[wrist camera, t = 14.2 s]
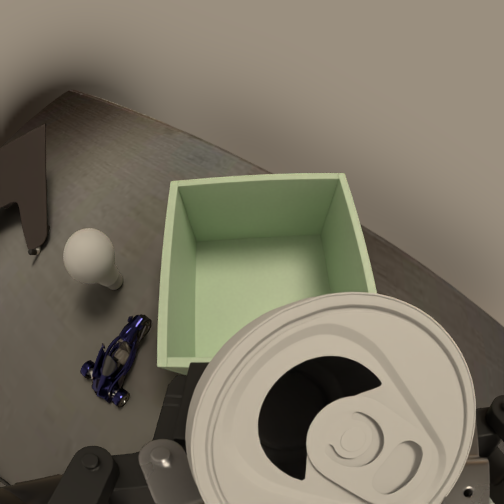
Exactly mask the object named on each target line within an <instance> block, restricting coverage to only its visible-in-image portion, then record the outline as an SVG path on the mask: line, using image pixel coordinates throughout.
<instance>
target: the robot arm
mask: <svg viewBox="0 0 504 504" xmlns="http://www.w3.org/2000/svg"><path fill="white" fill-rule="evenodd" d="M208 364H209V362H191V363H190V365H189V369H188V373H187V376H176V377H175V378H174V379H173V380H172V381H171V383H170V384H169V385H168V388H167V392H166V397H165V399H164V402H163V406H162V409H161V413H160V416H159V420H158V423H157V427H156V431H155V434H154V438H153V440H152V441H151V442H149V443H147V444H146V445H144V446H143V447H142V449H141V450H140V451H139V452H136V453H132V454H124V455H113V456H111V454H110V453H109V452H108V451H107V450H105V449H104V448H102V447H98V446H88V447H85V448H82V449H80V450H79V451H78V452H77V453H76V454H75V455H74V457H73V459H72V460H71V462H70V464H69V466H68V467H67V469H66V471H65V473H64V474H62V475H60V474H57V475H53V476H49V477H44V478H40V479H35V480H30V481H25V482H19V483H15V485H10V484H8V483H7V482H6V481H5V480H3V479H2V478H0V482H2V483H3V484H5V485H6V486H5V487H0V504H205V502H204V501H203V499H202V497H201V495H200V492H199V490H198V487H197V485H196V483H195V481H194V478H193V476H192V473H191V470H190V466H189V462H188V458H187V452H186V440H185V432H186V422H187V415H188V410H189V406H190V402H191V399H192V396H193V393H194V390H195V388H196V385H197V383H198V381H199V379H200V378H201V376H202V374H203V372H204V370H205V369H206V367H207V366H208ZM502 440H503V442H504V395H501V396H498V397H496V398H495V399H494V401H493V402H492V404H491V406H490V407H487V408H479V409H476V420H475V429H474V436H473V440H472V445H471V449H470V452H469V455H468V458H467V461H466V463H465V465H464V468H463V470H462V472H461V474H460V476H459V478H458V480H457V482H456V483H455V485H454V487H453V488H452V490H451V491H450V493H449V494H448V496H446V497H444V500H443V502H442V503H441V504H489V497H490V498H491V500H492V501H493V503H494V504H504V454H503V453H502V452H501V450H500V449H499V448H498V447H497V446H498V445H499V444H500V442H501V441H502Z"/></svg>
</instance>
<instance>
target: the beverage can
mask: <svg viewBox="0 0 504 504" xmlns="http://www.w3.org/2000/svg"><path fill="white" fill-rule="evenodd" d="M475 420H476V401H475V392H474V387H473V382H472V378H471V375H470V371H469V369H468V366H467V363H466V361H465V359H464V357H463V355H462V353H461V351H460V349H459V348H458V346H457V345H456V343H455V342H454V340H453V339H452V338H451V336H450V335H449V334H448V333H447V332H446V331H445V329H444V328H443V327H442V326H441V325H440V324H439V323H438V322H436V321H435V320H434V319H433V318H432V317H430V316H429V315H428V314H426V313H425V312H423V311H422V310H420V309H418V308H417V307H415V306H413V305H410V304H408V303H406V302H404V301H401V300H399V299H396V298H393V297H389V296H385V295H381V294H376V293H366V292H342V293H332V294H326V295H322V296H317V297H310V298H305V299H302V300H299V301H296V302H293V303H290V304H287V305H284V306H281V307H278V308H276V309H273V310H271V311H268V312H267V313H265V314H263V315H261V316H260V317H258V318H256V319H255V320H253V321H252V322H250V323H249V324H247V325H246V326H244V327H243V328H242V329H240V330H239V331H238V332H237V333H236V334H235V335H233V336H232V337H231V338H230V339H229V340H228V341H227V342H226V343H225V344H224V345H223V346H222V347H221V349H220V350H219V351H218V352H217V353H216V355H215V356H214V357H213V359H212V360H211V361H210V362H209V364H208V366H207V367H206V369H205V370H204V372H203V374H202V376H201V378H200V379H199V381H198V383H197V385H196V388H195V390H194V393H193V396H192V399H191V402H190V406H189V410H188V415H187V422H186V432H185V440H186V452H187V458H188V462H189V466H190V470H191V473H192V476H193V478H194V481H195V483H196V485H197V487H198V490H199V492H200V495H201V497H202V499H203V501H204V502H205V504H441V503H442V502H443V500H444V497H446V496H448V494H449V493H450V491H451V490H452V488H453V487H454V485H455V483H456V482H457V480H458V478H459V476H460V474H461V472H462V470H463V468H464V465H465V463H466V461H467V458H468V455H469V452H470V449H471V445H472V440H473V436H474V429H475Z"/></svg>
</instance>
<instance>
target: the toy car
mask: <svg viewBox="0 0 504 504" xmlns="http://www.w3.org/2000/svg"><path fill="white" fill-rule="evenodd" d="M128 322H129V323H128V324H127V325H126V326H125V327H124V328H123V330H122V331H121V333H120V334H119V336H118V337H116V338H115V339H114V340H113V341H112V342H111V343H110V345H109V346H108V348H107V350H106V352H104V350H103V348H104V349H105V346H104V344H103V343H102V347H101V349H100V351H99V353H98V356H97V359H96V362H95V363H94V362H92V361H91V360H89V361H87V362H86V363H85V364H84V365H83V366H82V368H81V371H80V372H81V374H82V375H83V376H84V377H85V378H87V379H90V378H92V383H93V384H92V388H93V389H94V391H95V393H96V395H97V396H99V397H102V398H104V399H105V400H106V401H107V402H108V403H110V402H111V401H112V402H113V403H114V404H115V405H116V406H118V407H121V406H123V405H124V404H125V403H126V402H127V400H128V399H129V396H130V394H129V392H127V391H126V390H125V389H123V388H122V389H120V388H121V386H122V384H123V381H124V376H125V375H126V374H127V372H128V371H129V370H130V368H131V366H132V364H133V362H134V359H135V356H136V351H137V349H138V347H139V345H140V340H141V339H142V338H143V336H145V335H146V333H147V332H148V331H149V329H150V327H151V320H150V319H149V318H148V317H147V316H145V315H142V314H141V315H136V316H135V317H134V318H133V316H130V317H129V318H128ZM137 337H138V338H140V339H139V340H138V339H137ZM117 341H118V343H117ZM116 343H117V344H116ZM115 344H116V345H115ZM113 345H114V346H113ZM112 347H113V348H112ZM119 347H121V348H120V349H118V348H119ZM111 348H112V350H111ZM117 349H118V350H117ZM110 350H111V351H110ZM115 350H116V351H115ZM114 351H115V352H114ZM109 352H110V353H109ZM113 353H114V354H113ZM112 354H113V355H112Z"/></svg>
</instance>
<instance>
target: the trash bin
mask: <svg viewBox="0 0 504 504" xmlns="http://www.w3.org/2000/svg"><path fill="white" fill-rule="evenodd" d="M342 292H366V293H376V294H377V291H376V287H375V282H374V277H373V273H372V269H371V264H370V260H369V256H368V252H367V248H366V244H365V240H364V237H363V233H362V229H361V226H360V222H359V219H358V215H357V212H356V208H355V205H354V201H353V198H352V195H351V192H350V189H349V186H348V183H347V179H346V176H345V174H344V173H338V174H337V173H298V174H266V175H246V176H230V177H216V178H203V179H192V180H181V181H171V184H170V191H169V199H168V206H167V214H166V223H165V232H164V241H163V252H162V263H161V276H160V291H159V309H158V336H157V367H159V368H163V369H166V370H169V371H173V372H176V373H180V374H183V375H187V373H188V369H189V365H190V363H191V362H210V361H211V360H212V359H213V357H214V356H215V355H216V353H217V352H218V351H219V350H220V349H221V347H222V346H223V345H224V344H225V343H226V342H227V341H228V340H229V339H230V338H231V337H232V336H233V335H235V334H236V333H237V332H238V331H239V330H240V329H242V328H243V327H244V326H246V325H247V324H249V323H250V322H252V321H253V320H255V319H256V318H258V317H260V316H261V315H263V314H265V313H267V312H268V311H271V310H273V309H276V308H278V307H281V306H284V305H287V304H290V303H293V302H296V301H299V300H302V299H305V298H310V297H317V296H322V295H326V294H332V293H342Z"/></svg>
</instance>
